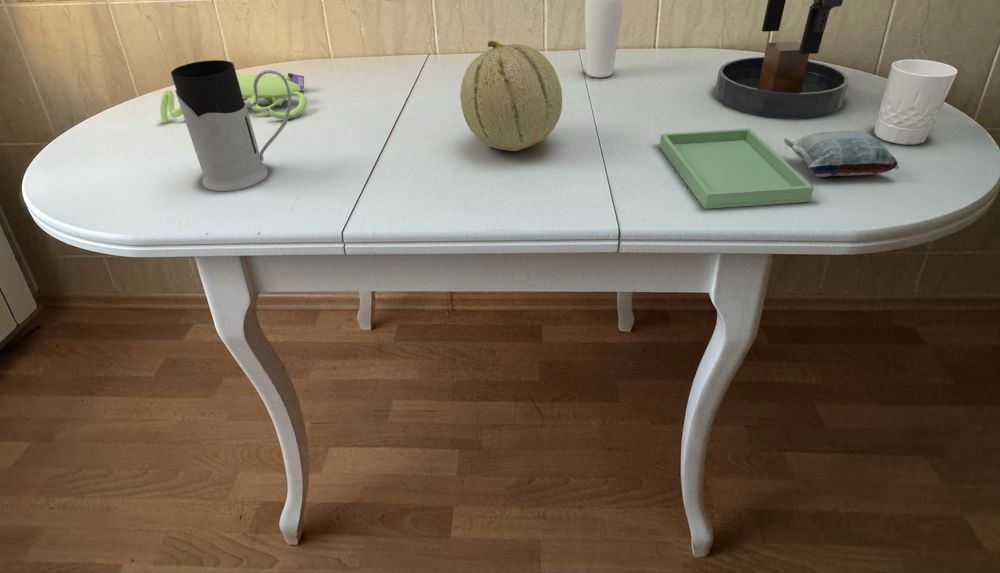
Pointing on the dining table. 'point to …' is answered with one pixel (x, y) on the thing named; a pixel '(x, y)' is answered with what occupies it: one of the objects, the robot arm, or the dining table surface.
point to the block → (783, 67)
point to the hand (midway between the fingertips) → (788, 41)
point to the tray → (733, 169)
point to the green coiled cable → (265, 89)
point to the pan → (814, 100)
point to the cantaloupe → (511, 97)
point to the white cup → (913, 100)
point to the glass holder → (222, 124)
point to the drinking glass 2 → (601, 35)
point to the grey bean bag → (842, 153)
